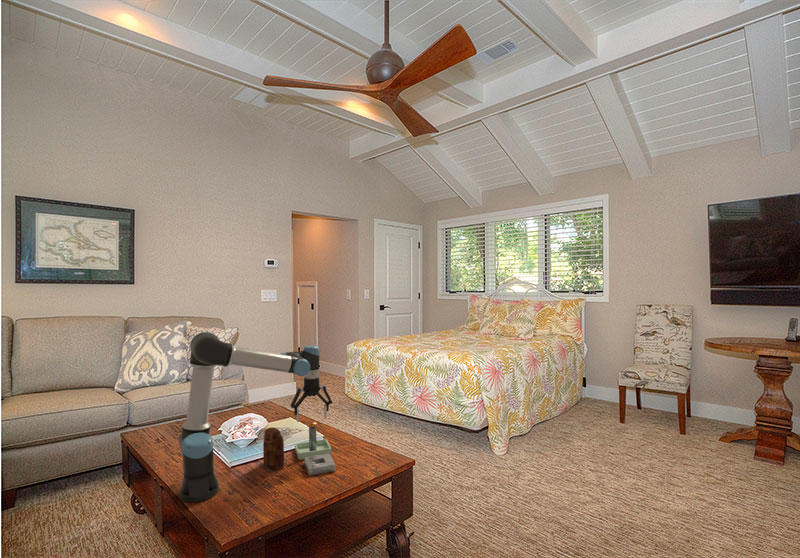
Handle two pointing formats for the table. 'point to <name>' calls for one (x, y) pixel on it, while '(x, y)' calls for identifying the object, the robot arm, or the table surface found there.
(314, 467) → the block
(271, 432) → the wooden figurine
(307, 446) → the tray
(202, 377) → the robot arm
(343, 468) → the table surface
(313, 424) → the pin
